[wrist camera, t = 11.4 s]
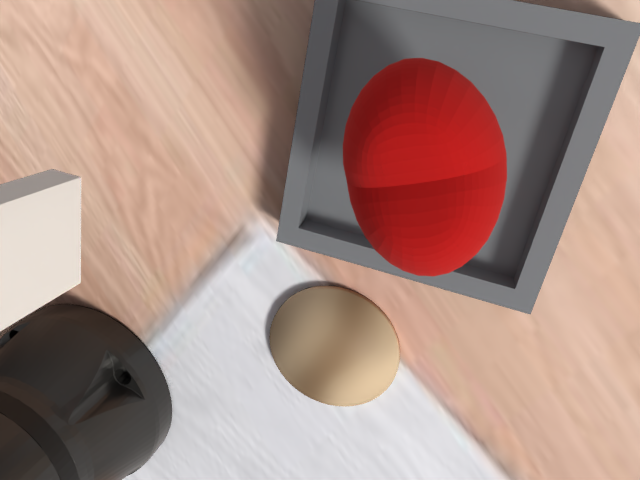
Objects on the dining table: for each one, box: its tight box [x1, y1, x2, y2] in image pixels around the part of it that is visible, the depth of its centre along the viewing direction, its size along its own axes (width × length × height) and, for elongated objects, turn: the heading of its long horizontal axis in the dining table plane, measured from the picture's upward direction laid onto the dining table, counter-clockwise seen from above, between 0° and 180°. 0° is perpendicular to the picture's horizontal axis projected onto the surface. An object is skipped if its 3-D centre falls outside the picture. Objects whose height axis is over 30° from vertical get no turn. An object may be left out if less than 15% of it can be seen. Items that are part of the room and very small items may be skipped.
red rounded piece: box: [343, 58, 507, 276], centre depth 25 cm, size 9×7×10 cm
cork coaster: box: [270, 286, 400, 406], centre depth 36 cm, size 9×9×1 cm
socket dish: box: [276, 0, 640, 314], centre depth 29 cm, size 15×15×2 cm
